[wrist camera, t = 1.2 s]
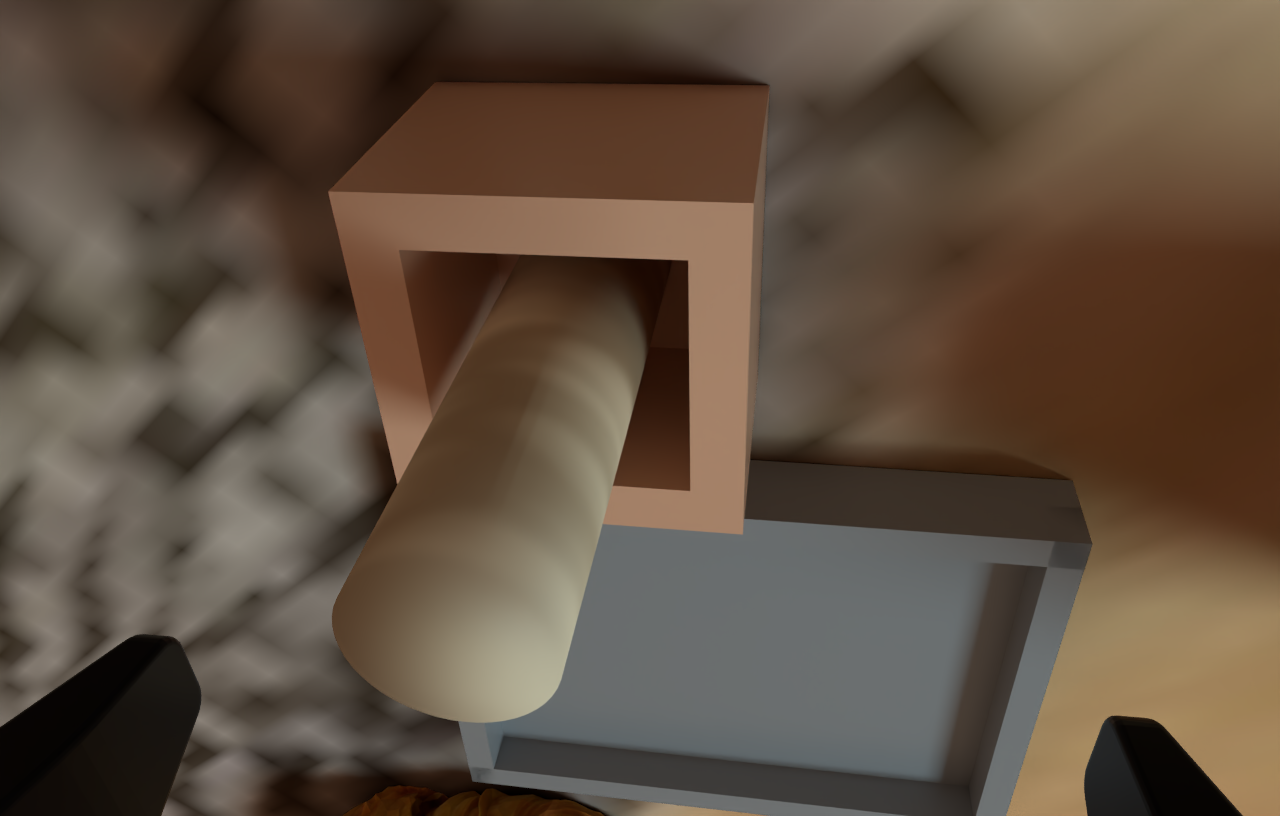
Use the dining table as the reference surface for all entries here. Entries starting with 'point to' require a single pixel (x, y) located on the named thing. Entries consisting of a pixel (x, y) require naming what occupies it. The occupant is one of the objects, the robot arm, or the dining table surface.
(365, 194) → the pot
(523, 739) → the tray
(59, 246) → the dining table surface
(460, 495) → the dowel
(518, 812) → the croissant
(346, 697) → the dining table surface
